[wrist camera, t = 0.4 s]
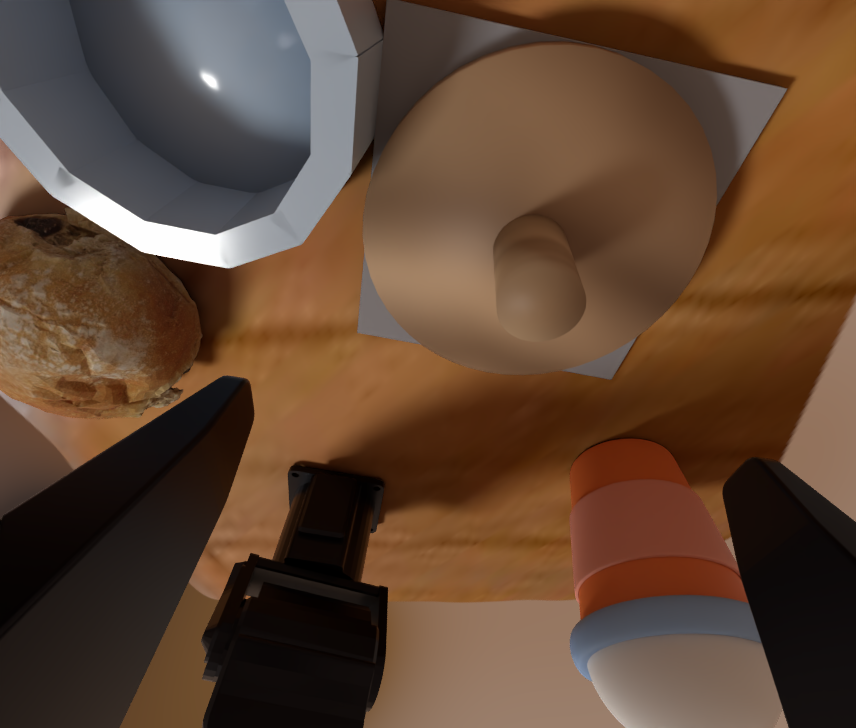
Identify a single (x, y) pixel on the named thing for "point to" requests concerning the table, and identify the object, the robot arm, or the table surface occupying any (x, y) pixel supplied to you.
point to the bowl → (192, 115)
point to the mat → (473, 37)
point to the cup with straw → (660, 598)
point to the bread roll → (89, 320)
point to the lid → (539, 208)
